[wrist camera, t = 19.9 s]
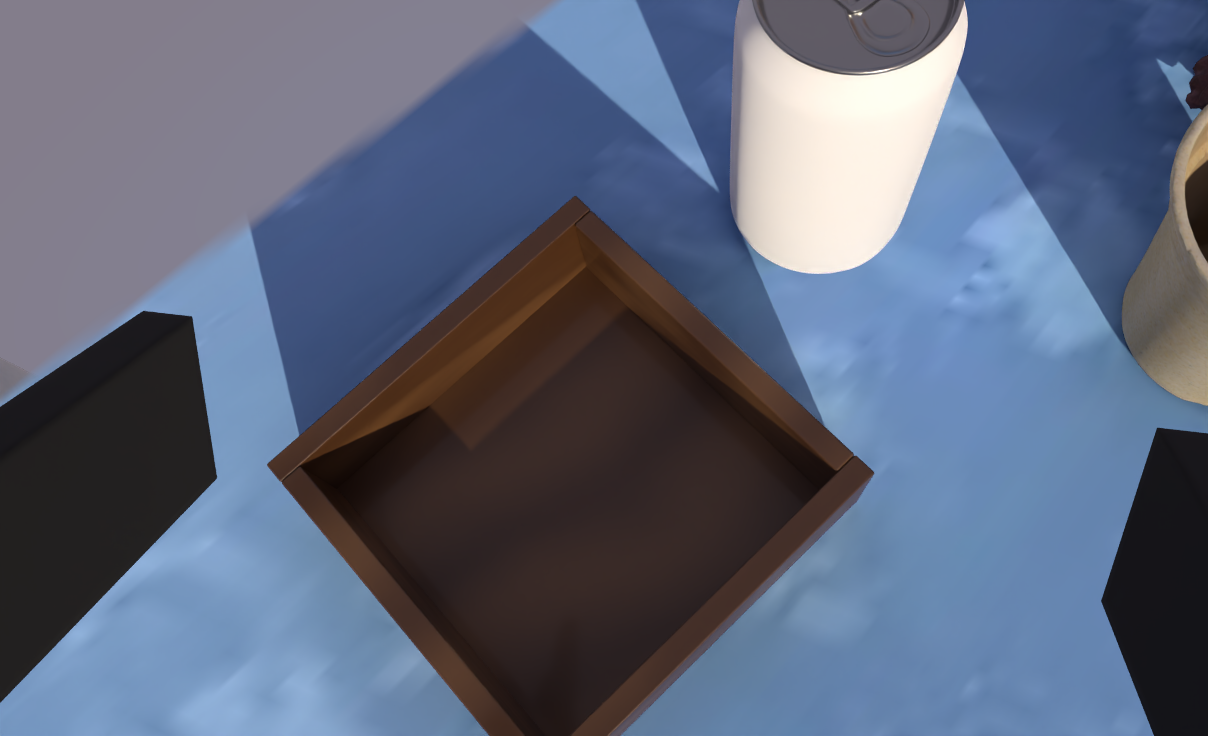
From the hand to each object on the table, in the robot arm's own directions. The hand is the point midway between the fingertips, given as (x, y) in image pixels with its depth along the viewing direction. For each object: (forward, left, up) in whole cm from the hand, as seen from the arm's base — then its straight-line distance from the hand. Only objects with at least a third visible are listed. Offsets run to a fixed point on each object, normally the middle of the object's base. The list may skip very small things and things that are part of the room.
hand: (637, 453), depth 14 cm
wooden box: (-5, 0, -21) cm, 22 cm away
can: (-7, +14, -21) cm, 27 cm away
